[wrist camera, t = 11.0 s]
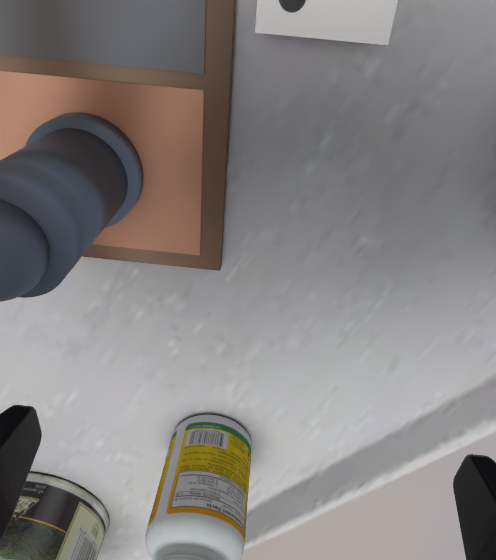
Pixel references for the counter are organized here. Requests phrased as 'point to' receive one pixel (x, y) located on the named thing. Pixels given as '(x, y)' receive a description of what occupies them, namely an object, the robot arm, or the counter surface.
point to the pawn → (62, 199)
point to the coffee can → (54, 522)
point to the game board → (133, 107)
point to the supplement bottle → (202, 493)
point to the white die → (328, 19)
